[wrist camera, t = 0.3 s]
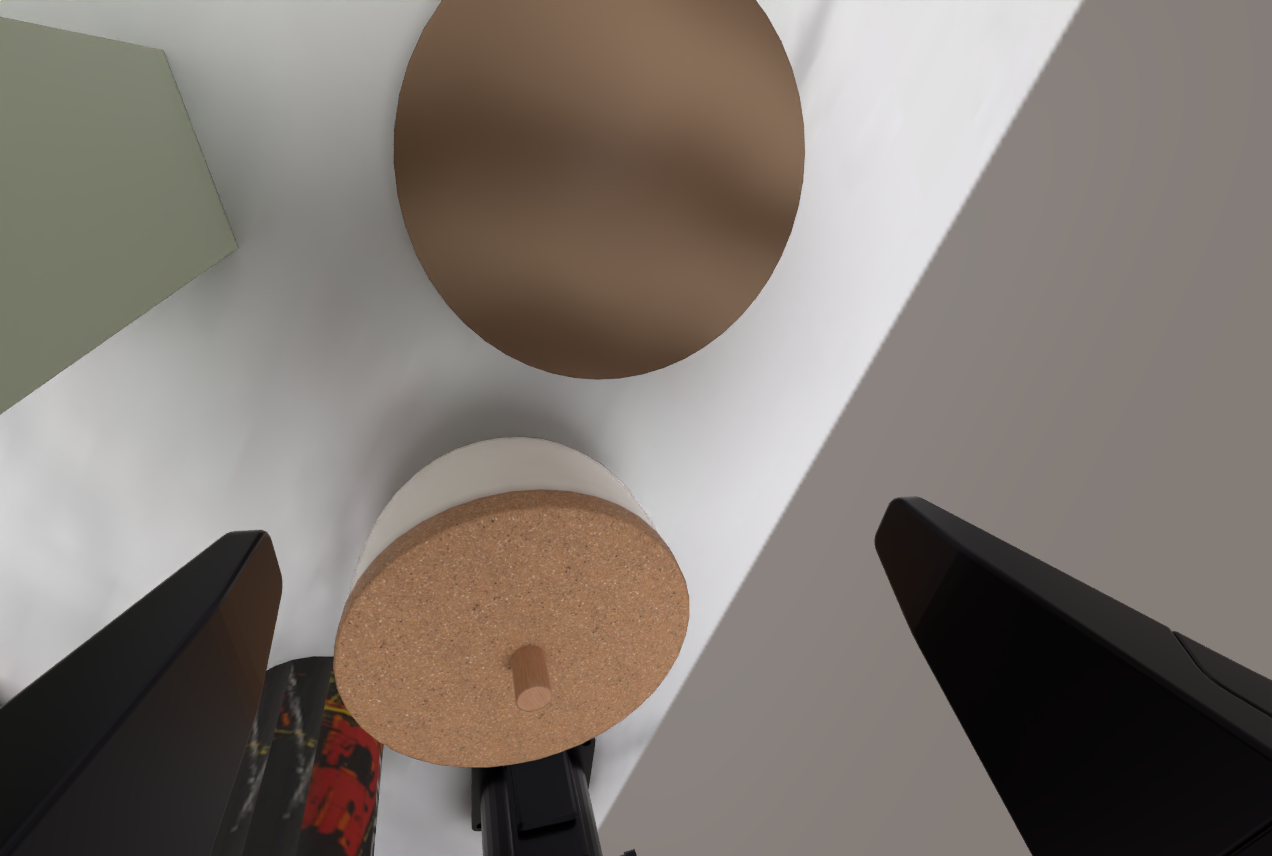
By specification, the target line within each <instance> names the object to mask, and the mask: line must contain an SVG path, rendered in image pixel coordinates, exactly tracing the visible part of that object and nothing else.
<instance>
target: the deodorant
mask: <svg viewBox="0 0 1272 856" xmlns="http://www.w3.org/2000/svg"><path fill="white" fill-rule="evenodd" d="M333 663H334V657H310V658H304V659H298V660H292V661H290V662H287V663H284V664H281V665H278V666H275V667H273V668H271V669H270V670H268V671H266V674H265V679H264V684H263V689H262V693H261V698H260V702H259V706H258V710H257V714H256V717H255V720H254V724H253V727H252V730H251V733H250V736H249V739H248V742H247V745H246V748H245V751H244V754H243V757H242V761H241V764H240V767H239V770H238V773H237V776H236V779H235V782H234V785H233V788H232V791H231V794H230V797H229V800H228V803H227V806H226V809H225V812H224V815H223V818H222V821H221V824H220V827H219V830H218V833H217V836H216V839H215V842H214V845H213V848H212V851H211V854H210V856H374V846H375V834H376V823H377V812H378V800H379V789H380V778H381V766H382V755H383V744H382V743H380V742H379V741H377V740H376V739H375V738H373V737H372V736H371V735H370V734H369V733H367V732H366V731H365V730H364V729H362V728H361V727H360V726H359V724H358V723H357V722H356V720H355V719H354V718H353V717H352V715H351V714H350V713H349V711H348V710H347V709H346V707H345V705H344V703H343V701H342V699H341V696H340V694H339V692H338V690H337V686H336V680H335V675H334V669H333Z"/></svg>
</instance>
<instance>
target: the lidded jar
mask: <svg viewBox="0 0 1272 856" xmlns="http://www.w3.org/2000/svg"><path fill="white" fill-rule="evenodd" d="M688 620H689V595H688V590H687V586H686V581H685V578H684V576H683V574H682V572H681V570H680V568H679V566H678V563H677V561H676V559H675V557H674V555H673V554H672V552H671V550H670V549H669V547H668V546H667V544H666V543H665V542H664V541H663V539H662V538H661V537H660V535H659V534H658V533H657V531H656V529H655V527H654V525H653V524H652V522H651V520H650V518H649V517H648V515H647V513H646V512H645V511H644V509H643V508H642V507H641V506H640V504H639V503H638V502H637V500H636V499H635V498H634V496H633V495H632V494H631V493H630V491H629V490H628V489H627V488H626V486H625V485H624V484H623V483H621V482H620V481H619V480H618V479H617V478H616V477H615V476H614V475H613V474H611V473H610V472H609V471H608V470H607V469H606V468H605V467H604V466H602V465H601V464H600V463H598V462H597V461H595V460H593V459H592V458H590V457H589V456H587V455H585V454H583V453H581V452H579V451H577V450H574V449H572V448H569V447H567V446H565V445H562V444H560V443H556V442H552V441H548V440H543V439H537V438H527V437H507V438H496V439H490V440H485V441H479V442H476V443H473V444H469V445H466V446H463V447H460V448H457V449H455V450H453V451H451V452H449V453H447V454H445V455H443V456H441V457H439V458H437V459H436V460H434V461H433V462H431V463H430V464H428V465H427V466H425V467H424V468H422V469H421V470H420V471H419V472H418V473H416V474H415V475H414V476H413V477H412V478H411V479H410V480H409V481H408V482H407V483H405V484H404V485H403V486H402V487H401V488H400V489H399V490H398V491H397V492H396V494H395V495H394V496H393V497H392V499H391V500H390V501H389V503H388V504H387V505H386V506H385V508H384V509H383V511H382V513H381V514H380V516H379V518H378V519H377V521H376V523H375V525H374V527H373V528H372V530H371V532H370V534H369V536H368V538H367V540H366V542H365V545H364V547H363V550H362V552H361V555H360V557H359V560H358V564H357V567H356V570H355V574H354V577H353V581H352V585H351V589H350V593H349V596H348V599H347V601H346V603H345V606H344V610H343V613H342V616H341V620H340V623H339V627H338V630H337V635H336V640H335V646H334V663H333V669H334V675H335V680H336V686H337V690H338V692H339V694H340V696H341V699H342V701H343V703H344V705H345V707H346V709H347V710H348V711H349V713H350V714H351V715H352V717H353V718H354V719H355V720H356V722H357V723H358V724H359V726H360V727H361V728H362V729H364V730H365V731H366V732H367V733H369V734H370V735H371V736H372V737H373V738H375V739H376V740H377V741H379V742H380V743H382V744H384V745H385V746H387V747H389V748H390V749H392V750H394V751H395V752H398V753H401V754H404V755H406V756H409V757H412V758H414V759H417V760H421V761H425V762H430V763H434V764H438V765H445V766H456V767H496V766H504V765H513V764H518V763H523V762H528V761H533V760H538V759H541V758H544V757H547V756H550V755H553V754H557V753H560V752H562V751H565V750H567V749H570V748H572V747H575V746H577V745H580V744H582V743H584V742H586V741H588V740H590V739H592V738H594V737H595V736H597V735H599V734H601V733H603V732H605V731H606V730H608V729H609V728H611V727H612V726H614V725H616V724H617V723H619V722H620V721H622V720H623V719H624V718H626V717H627V716H628V715H629V714H630V713H632V712H633V711H634V710H635V709H636V708H638V707H639V706H640V705H641V704H642V703H643V702H644V701H645V700H646V699H647V698H648V697H649V696H650V695H651V694H652V693H653V692H654V691H655V690H656V689H657V687H658V686H659V685H660V683H661V682H662V681H663V679H664V678H665V677H666V675H667V674H668V672H669V671H670V669H671V667H672V666H673V664H674V662H675V661H676V659H677V657H678V655H679V652H680V649H681V647H682V644H683V641H684V638H685V636H686V631H687V626H688Z"/></svg>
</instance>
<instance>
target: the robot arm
mask: <svg viewBox="0 0 1272 856" xmlns="http://www.w3.org/2000/svg"><path fill="white" fill-rule="evenodd" d="M875 548H876V551H877V554H878V556H879V558H880V561H881V563H882V566H883V568H884V570H885V573H886V575H887V577H888V580H889V582H890V584H891V587H892V589H893V591H894V594H895V596H896V598H897V601H898V603H899V605H900V608H901V610H902V612H903V615H904V617H905V619H906V621H907V624H908V626H909V628H910V630H911V633H912V635H913V637H914V639H915V641H916V643H917V644H918V646H919V648H920V650H921V652H922V654H923V656H924V658H925V659H926V661H927V663H928V665H929V667H930V669H931V670H932V672H933V674H934V676H935V678H936V680H937V681H938V683H939V685H940V687H941V689H942V691H943V692H944V694H945V696H946V698H947V700H948V702H949V703H950V705H951V707H952V709H953V711H954V713H955V715H956V716H957V718H958V720H959V722H960V724H961V726H962V727H963V729H964V731H965V733H966V735H967V737H968V738H969V740H970V742H971V744H972V746H973V748H974V749H975V751H976V753H977V755H978V756H979V759H980V760H981V762H982V764H983V766H984V768H985V770H986V772H987V773H988V775H989V777H990V779H991V781H992V783H993V784H994V786H995V788H996V790H997V792H998V794H999V795H1000V797H1001V799H1002V801H1003V803H1004V805H1005V806H1006V808H1007V810H1008V812H1009V814H1010V815H1011V817H1012V819H1013V821H1014V823H1015V825H1016V827H1017V829H1018V830H1019V832H1020V834H1021V836H1022V838H1023V840H1024V841H1025V843H1026V845H1027V847H1028V848H1029V851H1030V852H1031V854H1032V856H1272V680H1270V679H1268V678H1266V677H1264V676H1262V675H1260V674H1258V673H1256V672H1254V671H1252V670H1250V669H1248V668H1246V667H1244V666H1242V665H1240V664H1238V663H1236V662H1235V661H1232V660H1231V659H1229V658H1227V657H1225V656H1223V655H1221V654H1219V653H1217V652H1215V651H1213V650H1211V649H1209V648H1207V647H1205V646H1203V645H1201V644H1200V643H1197V642H1196V641H1194V640H1192V639H1190V638H1188V637H1186V636H1184V635H1182V634H1180V633H1179V632H1176V631H1171V630H1170V628H1168V627H1167V626H1165V625H1163V624H1161V623H1159V622H1157V621H1155V620H1154V619H1152V618H1149V617H1148V616H1146V615H1144V614H1142V613H1140V612H1138V611H1136V610H1134V609H1132V608H1131V607H1128V606H1127V605H1125V604H1123V603H1121V602H1119V601H1117V600H1115V599H1113V598H1112V597H1110V596H1108V595H1106V594H1104V593H1102V592H1100V591H1098V590H1096V589H1094V588H1092V587H1090V586H1089V585H1087V584H1085V583H1083V582H1081V581H1079V580H1077V579H1075V578H1073V577H1071V576H1070V575H1068V574H1066V573H1064V572H1062V571H1060V570H1058V569H1056V568H1054V567H1052V566H1050V565H1049V564H1047V563H1045V562H1043V561H1041V560H1039V559H1037V558H1035V557H1033V556H1031V555H1030V554H1028V553H1026V552H1024V551H1022V550H1020V549H1018V548H1016V547H1014V546H1012V545H1010V544H1009V543H1007V542H1005V541H1003V540H1001V539H999V538H997V537H995V536H993V535H991V534H989V533H987V532H986V531H984V530H982V529H980V528H978V527H976V526H974V525H972V524H970V523H968V522H967V521H964V520H962V519H961V518H959V517H957V516H955V515H953V514H951V513H949V512H947V511H946V510H944V509H942V508H940V507H938V506H936V505H934V504H932V503H930V502H928V501H927V500H924V499H922V498H920V497H898V498H894V499H893V500H892V501H891V502H890V503H889V505H888V507H887V509H886V511H885V514H884V516H883V518H882V520H881V523H880V525H879V527H878V529H877V532H876V534H875ZM281 595H282V576H281V572H280V568H279V565H278V561H277V558H276V554H275V551H274V547H273V544H272V540H271V538H270V536H269V534H268V533H267V532H266V531H263V530H248V531H233V532H229V533H227V534H225V535H224V536H222V537H221V538H219V539H218V540H217V541H216V542H214V543H213V544H212V545H210V546H209V547H208V548H206V549H205V550H204V551H203V552H201V553H200V554H199V555H197V556H196V557H195V558H193V559H192V560H191V561H190V562H188V563H187V564H186V565H184V566H183V567H182V568H180V569H179V570H178V571H177V572H175V573H174V574H173V575H171V576H170V577H169V578H167V579H166V580H165V581H164V582H162V583H161V584H160V585H158V586H157V587H156V588H155V589H153V590H152V591H151V592H149V593H148V594H147V595H145V596H144V597H143V598H142V599H140V600H139V601H138V602H136V603H135V604H134V605H132V606H131V607H130V608H129V609H127V610H126V611H125V612H123V613H122V614H121V615H119V616H118V617H117V618H116V619H114V620H113V621H112V622H110V623H109V624H108V625H106V626H105V627H104V628H103V629H101V630H100V631H99V632H97V633H96V634H95V635H93V636H92V637H91V638H90V639H88V640H87V641H86V642H84V643H83V644H82V645H80V646H79V647H78V648H77V649H75V650H74V651H73V652H71V653H70V654H69V655H67V656H66V657H65V658H64V659H62V660H61V661H60V662H58V663H57V664H56V665H55V666H53V667H52V668H51V669H49V670H48V671H47V672H45V673H44V674H43V675H42V676H40V677H39V678H38V679H36V680H35V681H34V682H32V683H31V684H30V685H29V686H27V687H26V688H25V689H23V690H22V691H21V692H19V693H18V694H17V695H16V696H14V697H13V698H12V699H10V700H9V701H8V702H6V703H5V704H4V705H3V706H1V707H0V856H210V854H211V851H212V848H213V845H214V842H215V839H216V836H217V833H218V830H219V827H220V824H221V821H222V818H223V815H224V812H225V809H226V806H227V803H228V800H229V797H230V794H231V791H232V788H233V785H234V782H235V779H236V776H237V773H238V770H239V767H240V764H241V761H242V757H243V754H244V751H245V748H246V745H247V742H248V739H249V736H250V733H251V730H252V727H253V724H254V720H255V717H256V714H257V710H258V706H259V702H260V698H261V693H262V689H263V684H264V679H265V674H266V669H267V664H268V659H269V654H270V649H271V644H272V639H273V634H274V629H275V625H276V620H277V615H278V610H279V605H280V600H281ZM594 747H595V737H594V738H592V739H590V740H588V741H586V742H584V743H582V744H580V745H577V746H575V747H572V748H570V749H567V750H565V751H562V752H560V753H557V754H553V755H550V756H547V757H544V758H541V759H538V760H533V761H528V762H523V763H518V764H513V765H504V766H496V767H472V807H471V822H472V830H474V831H482V844H483V856H603V855H602V851H601V846H600V841H599V837H598V832H597V827H596V823H595V818H594V814H593V809H592V804H591V800H590V795H589V791H588V789H589V782H590V775H591V768H592V761H593V754H594ZM621 856H636V852H635V850H634V849H633V850H629V851H626V852H624V855H621Z"/></svg>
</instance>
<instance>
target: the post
mask: <svg viewBox="0 0 1272 856" xmlns="http://www.w3.org/2000/svg"><path fill="white" fill-rule="evenodd" d="M237 248H238V246H237V243H236V240H235V238H234V235H233V233H232V230H231V227H230V225H229V222H228V219H227V217H226V214H225V212H224V209H223V206H222V204H221V201H220V198H219V196H218V193H217V191H216V188H215V185H214V183H213V180H212V177H211V175H210V172H209V170H208V167H207V164H206V162H205V159H204V156H203V154H202V151H201V148H200V146H199V143H198V141H197V138H196V135H195V133H194V130H193V127H192V125H191V122H190V120H189V117H188V114H187V112H186V109H185V106H184V104H183V101H182V99H181V96H180V93H179V91H178V88H177V85H176V83H175V80H174V78H173V75H172V72H171V70H170V67H169V64H168V62H167V59H166V56H165V54H164V51H163V50H159V49H154V48H149V47H144V46H139V45H134V44H130V43H125V42H120V41H115V40H110V39H105V38H100V37H95V36H90V35H86V34H81V33H76V32H71V31H66V30H61V29H56V28H51V27H46V26H42V25H37V24H32V23H27V22H22V21H17V20H12V19H7V18H3V17H0V414H2V413H3V412H4V411H6V410H7V409H9V408H10V407H12V406H13V405H14V404H16V403H17V402H19V401H20V400H22V399H23V398H24V397H26V396H27V395H29V394H30V393H32V392H33V391H34V390H36V389H37V388H39V387H40V386H42V385H43V384H44V383H46V382H47V381H49V380H50V379H52V378H53V377H54V376H56V375H57V374H59V373H60V372H62V371H63V370H64V369H66V368H67V367H69V366H70V365H72V364H73V363H74V362H76V361H77V360H79V359H80V358H82V357H83V356H84V355H86V354H87V353H89V352H90V351H92V350H93V349H94V348H96V347H97V346H99V345H100V344H102V343H103V342H104V341H106V340H107V339H109V338H110V337H112V336H113V335H114V334H116V333H117V332H119V331H120V330H122V329H123V328H124V327H126V326H127V325H129V324H130V323H132V322H133V321H134V320H136V319H137V318H139V317H140V316H142V315H143V314H144V313H146V312H147V311H149V310H150V309H152V308H153V307H154V306H156V305H157V304H159V303H160V302H162V301H163V300H164V299H166V298H167V297H169V296H170V295H172V294H173V293H174V292H176V291H177V290H179V289H180V288H182V287H183V286H184V285H186V284H187V283H189V282H190V281H192V280H193V279H194V278H196V277H197V276H199V275H200V274H202V273H203V272H204V271H206V270H207V269H209V268H210V267H212V266H213V265H214V264H216V263H217V262H219V261H220V260H222V259H223V258H224V257H226V256H227V255H229V254H230V253H232V252H233V251H234V250H236V249H237Z"/></svg>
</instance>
